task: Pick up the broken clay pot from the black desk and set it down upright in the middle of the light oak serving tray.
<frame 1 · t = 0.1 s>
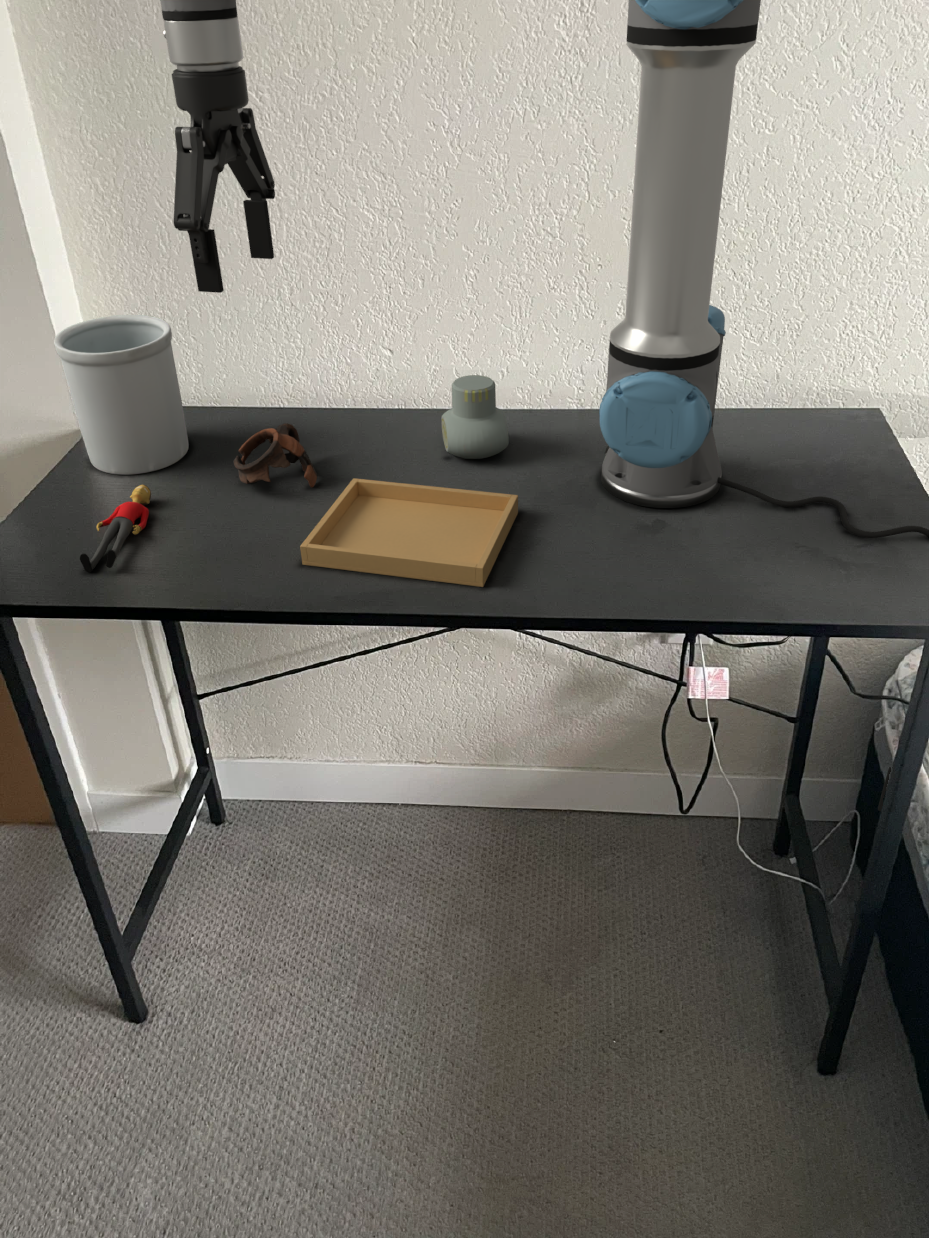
hand: (238, 274, 118), 28 cm above the table, tool pointing down, fingers open, 13 cm apart
tray: (414, 537, 123), on the table
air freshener: (474, 452, 142), on the table
broken clay pot: (282, 481, 137), on the table
utensil holder: (140, 455, 144), on the table
person figure: (125, 535, 125), on the table
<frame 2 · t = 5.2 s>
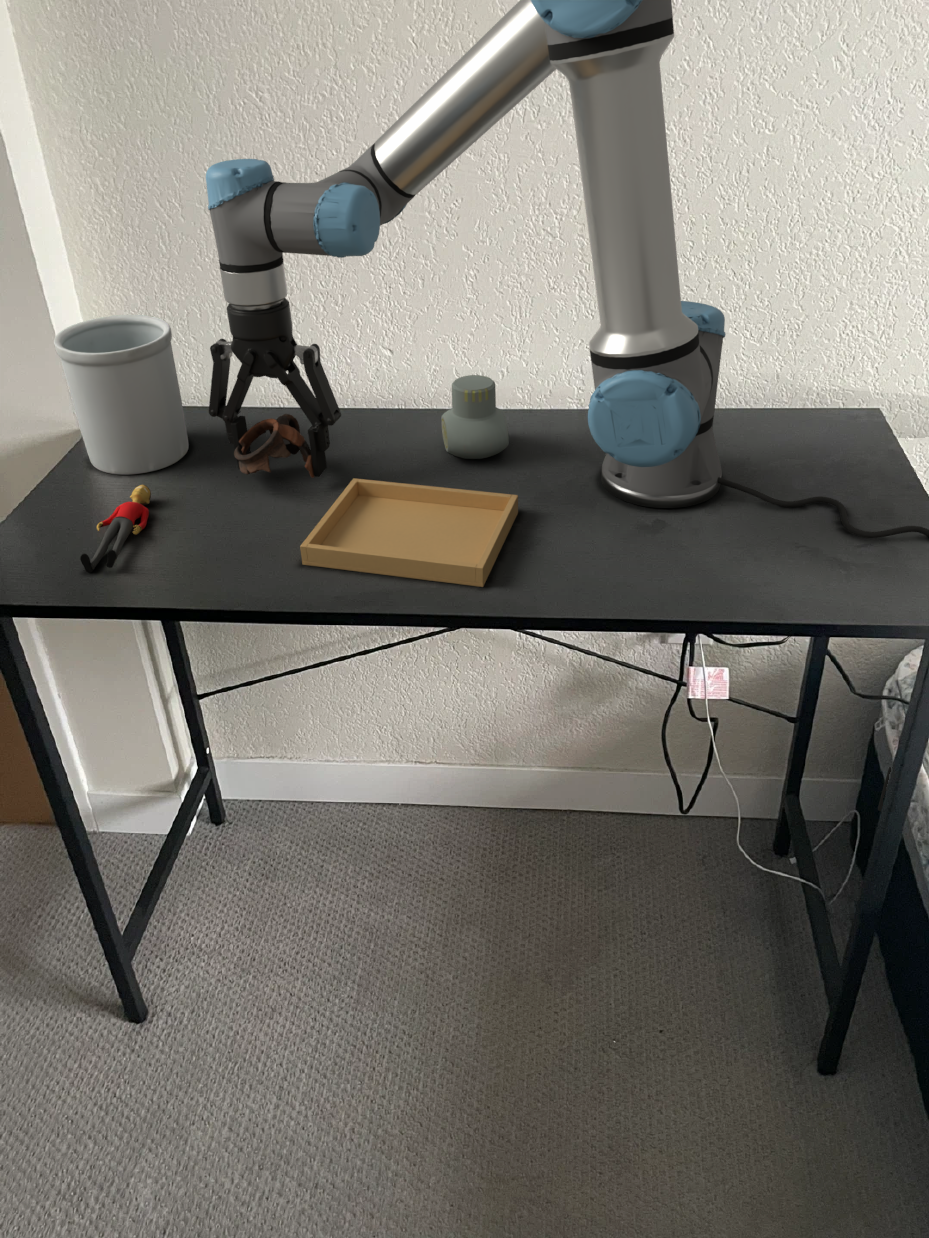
hand: (282, 468, 135), 2 cm above the table, tool pointing down, fingers closed on broken clay pot, 10 cm apart
broken clay pot: (282, 471, 136), point 1 cm above the table, touching gripper
everything else where it was.
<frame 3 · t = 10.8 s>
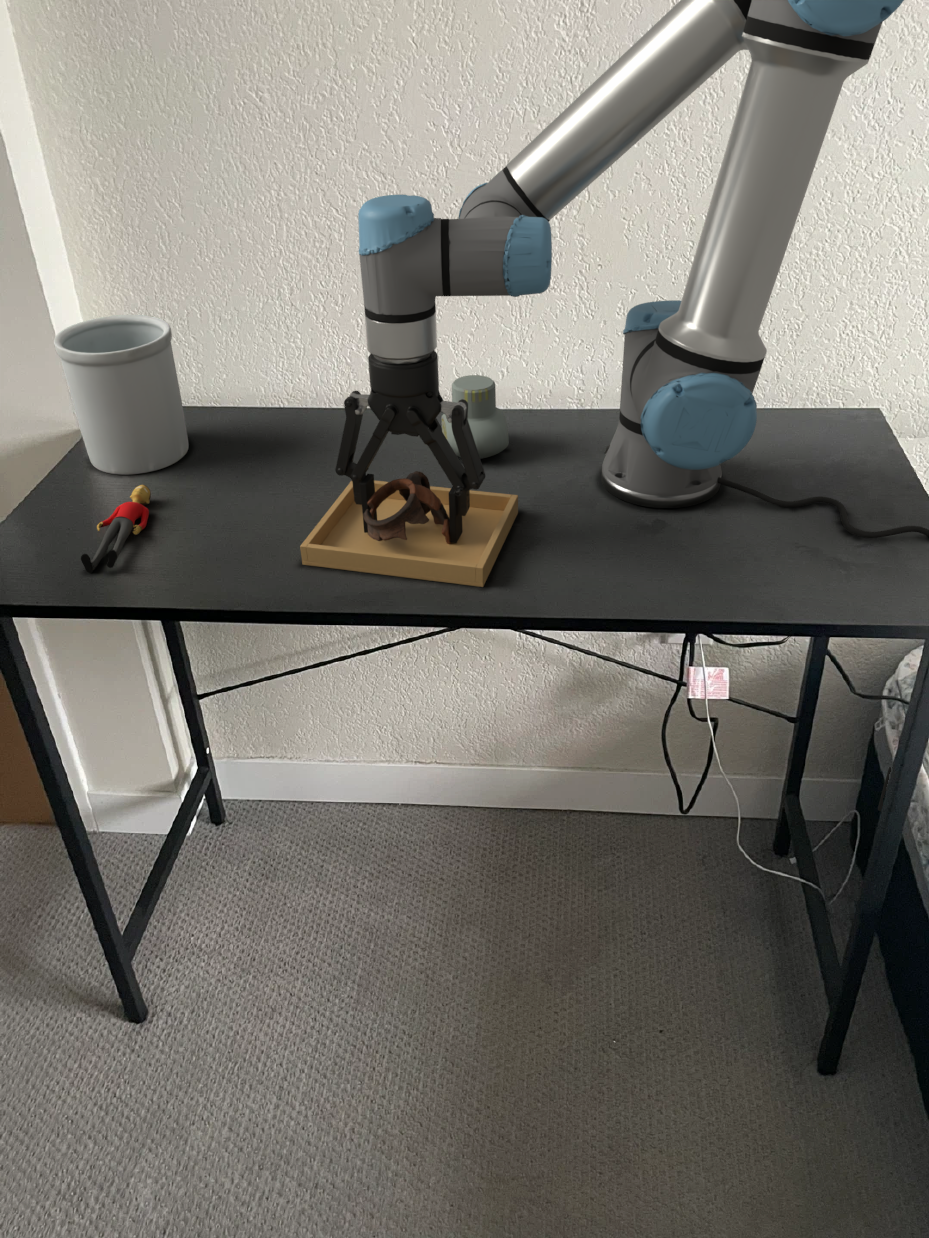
hand: (413, 532, 122), 1 cm above the table, tool pointing down, fingers closed on broken clay pot, 10 cm apart
broken clay pot: (413, 535, 122), resting on tray, touching gripper
everything else where it was.
when the fingers open (1 cm above the table, at t = 18.3 s): broken clay pot stays where it is, resting on tray.
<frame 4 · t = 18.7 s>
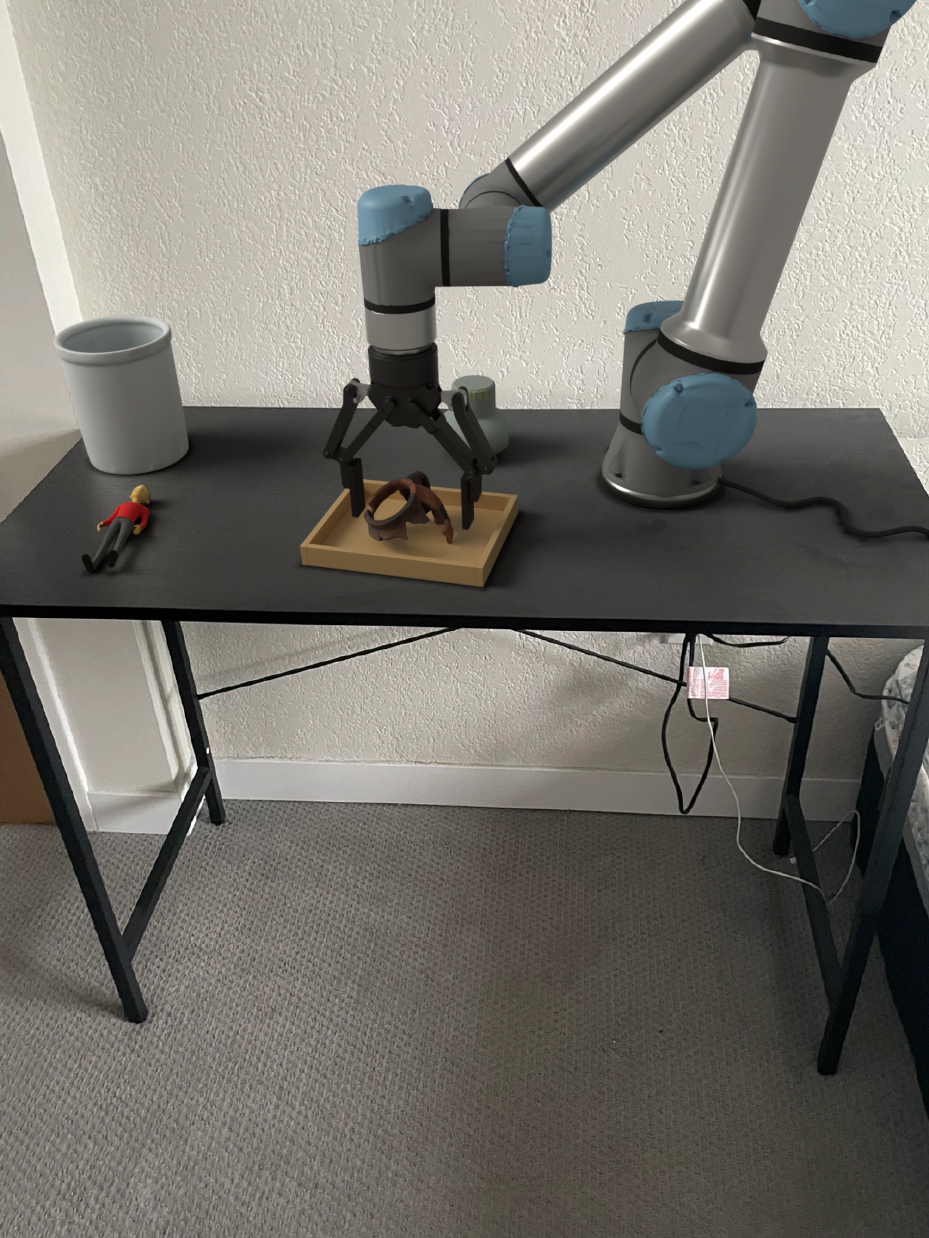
hand: (412, 518, 121), 3 cm above the table, tool pointing down, fingers open, 13 cm apart
broken clay pot: (413, 535, 122), resting on tray
everything else where it was.
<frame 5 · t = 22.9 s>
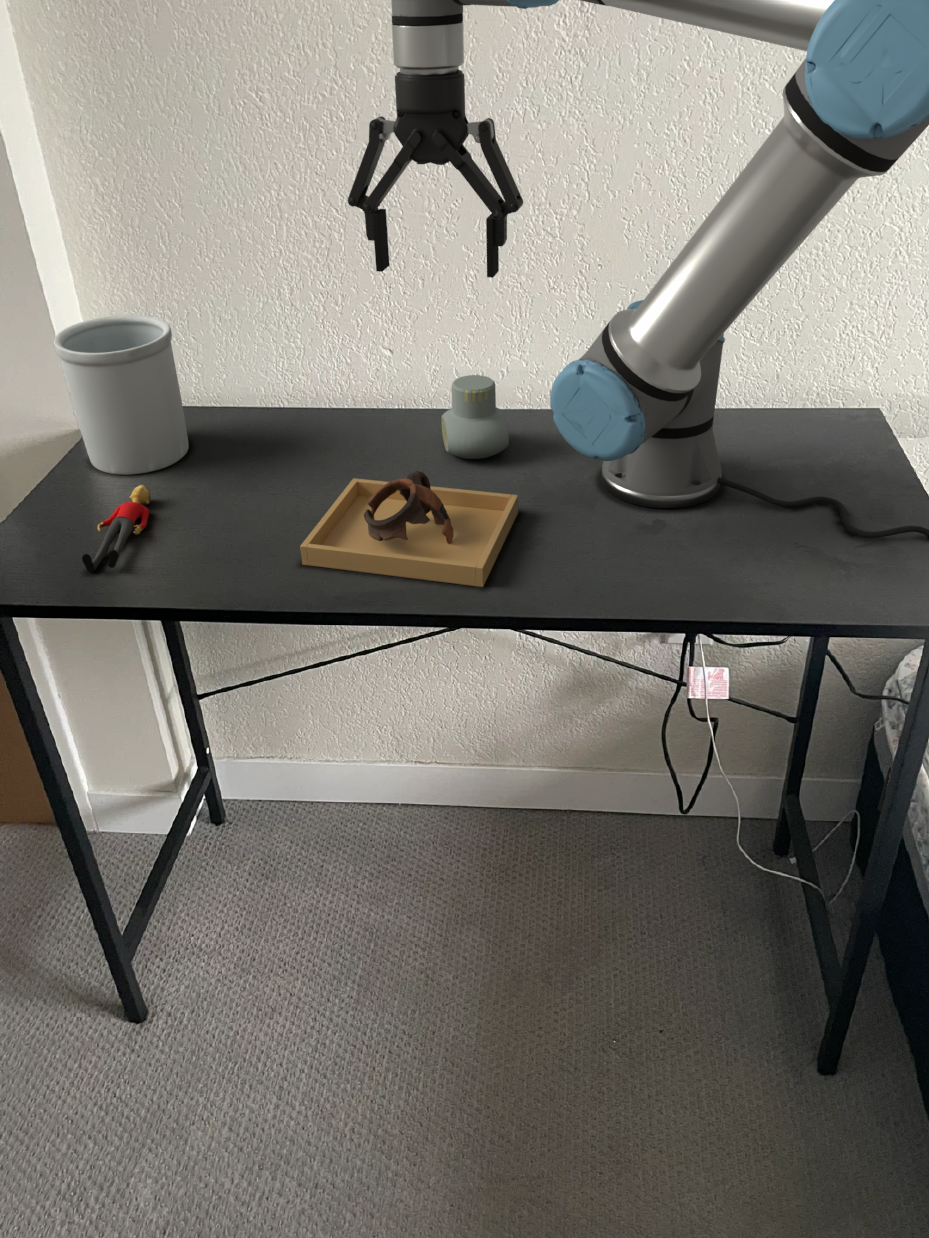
hand: (437, 271, 121), 27 cm above the table, tool pointing down, fingers open, 13 cm apart
nothing on the table moved.
at the end: broken clay pot inside the target area in the tray (0.1 cm from its centre), point 0.3 cm above the tray's base; broken clay pot tilted 0°; the gripper is holding nothing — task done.
